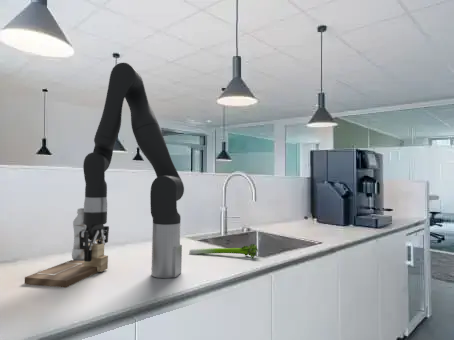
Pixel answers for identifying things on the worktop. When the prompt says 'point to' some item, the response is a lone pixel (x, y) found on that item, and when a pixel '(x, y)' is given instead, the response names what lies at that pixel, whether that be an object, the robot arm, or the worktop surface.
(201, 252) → the leek
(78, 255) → the plastic bottle
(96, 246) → the stepped wooden block
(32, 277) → the board
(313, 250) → the worktop surface
